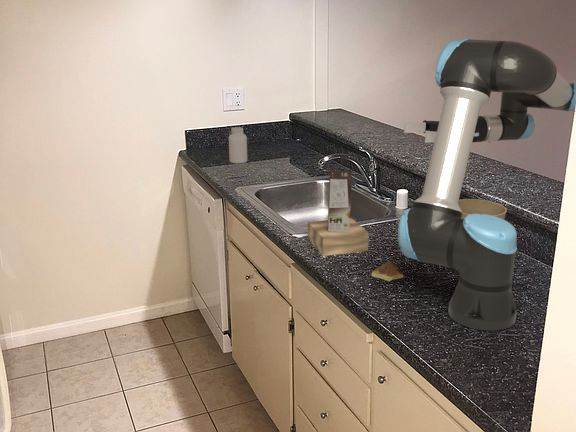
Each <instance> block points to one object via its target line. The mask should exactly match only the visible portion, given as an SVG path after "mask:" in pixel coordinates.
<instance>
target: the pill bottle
mask: <svg viewBox="0 0 576 432" xmlns="http://www.w3.org/2000/svg"><path fill="white" fill-rule="evenodd" d="M230 133H231V134H229V136H228V153H229V156H228V158H229V159H228V160H229V162H230V163H231V164H245V163H247V162H248V138H247V135H246V134H245V133H244V128H243V127H239V126H236V127H231V128H230Z"/></svg>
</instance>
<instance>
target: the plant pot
mask: <svg viewBox="0 0 576 432" xmlns="http://www.w3.org/2000/svg"><path fill="white" fill-rule="evenodd" d="M458 205H459V207H460V208H461V210H462V212H463V213H462V217H461V219H465V217H466V216H468V215H470V214H480V215H482V214H487V215H491V216H495V217H498V218H501V219H503V220H505V218H506V215H507V211H508V208H506V206H504V205H503V204H500V203H498V202H495V201H492V200H487V199H480V198H479V199H477V198H463V199H459V201H458Z"/></svg>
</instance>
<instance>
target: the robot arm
mask: <svg viewBox="0 0 576 432" xmlns="http://www.w3.org/2000/svg"><path fill="white" fill-rule="evenodd" d="M555 63H556V62H554V60H553V59H552V58H551V57H550V56H548V55H547V54H546V53H544V52H542V51H541V50H540V49H537V48H535V47H533V46H530V45H529V44H526V43H522V42H518V41H516V40H515V41H514V40H493V39H492V40H491V39H489V40H488V39H472V38H465V39H452V40H451V41H449V42H448V43H447V44H446V45H445V46H444V47H443V48H442V49H441V51H440V54H439V56H438V58H437V62H436V67H435V77H434V78H435V83H436V85H437V86H438V87H440V90H439V93H440V95H441V96H442V97H443V100H444V101H443V104H442V108H441V109H442V110H441V114H440V117H439V121H438V120H425V119H424V120H423V121H421V122H407V123H406V122H405V123H403V133H404V134H410V133H414V134H415V133H423V134H424V135H425V136H424V143H425V144H427V143H433V146H432V151H431V156H430V158H429V164H428V168H427V173H426V176H425V181H424V185H423V188H422V192H421V193H422V194H421V195H420V196H419V197H418V198H417V199H415V200H413V204H412V207H411V208H410V207H409V208H407V209H404V211H403V212H402V215H400V218H399V221H398V226H397V227H398V228H397V241H398V245H399V249H400V251H401V253H402V254H403V255H404V256H405V257H406V258H409V259H412V260H416V261H417V262H420V263H428V264H431V265H436V266H441V267H445V268H449V269H453V270H457V271H459V273H458V283H457V285H456V287H455V289H454V291H453V293H452V296H451V298H450V300H449V302H448V312H447V313H448V316H449V317H450V318H451V319H452V320H453V321H455V322H456V323H457V324H459V325H461V326H463V327H466V328H469V329H472V330H473V329H474V330H478V331H489V332H492V331H493V332H494V331H502V330H503V331H504V330H506V329H508V328H511V327H512V326H513V325H515V323H516V321H517V307H516V303H515V300H514V299H515V298H514V294H513V291H512V285H513V279H514V278H513V277H514V269H515V259H516V252H517V251H518V250H517V249H518V247H517V240H518V239H517V238H518V237H517V235H518V233H517V230H516V228H515V227H514V226H513V225H512V224H511V223H510V222H509V221H507V220H505V219H504V220H503V219H501V218H498V217H495V216H491V215H487V214H482V215H480V214H470V215H468V216H466V217H465V219H461V217H462V213H463V212H462V210H461V208H460V207H459V205H458V201H459V200H460V196H461V191H462V187H463V183H464V179H465V174H466V170H467V166H468V162H469V158H470V153H471V150H472V145H473V143H482V142H487V143H489V144H492V142H495V141H496V142H497V141H498V142H499V141H518V140H525V139H526V140H527V139H528V138H530V137H531V136H532V135H533V133H534V132H535V126H536V124H535V123H534V122H535V120H534V117H533V115H532V114H530V113H528V108H534V109H546V110H554V111H562V112H563V111H564V112H565V111H566V112H575V111H574V110H575V103H576V82H568V81H567V80H566V79H565V77H563V76H562V75H561V74H560V73H559V72H558V70H557V66H556V64H555ZM492 92H495V93H501V98H500V108H499V109H500V110H499V114H488V115H480V111H481V107H482V106H483V105H485V104H486V103H488V102H489V101H490V97H491V94H492Z"/></svg>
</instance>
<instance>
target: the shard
mask: <svg viewBox="0 0 576 432" xmlns="http://www.w3.org/2000/svg"><path fill="white" fill-rule="evenodd" d="M370 275H371V277H374V278H378V279H382V280H385V281H387V282H391V281H393V280H398V279H403V278H404V277H405V276H404V273H403V272H402V271H401V270H400V268H399V267H398V266H397V264H395V263H394V262H393V261H392V259H390V260H389V261H386V262H385V263H383V264H381V265H380V266H378V267H377V268H375V269H374V270H373V271H372V272H371V274H370Z"/></svg>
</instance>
